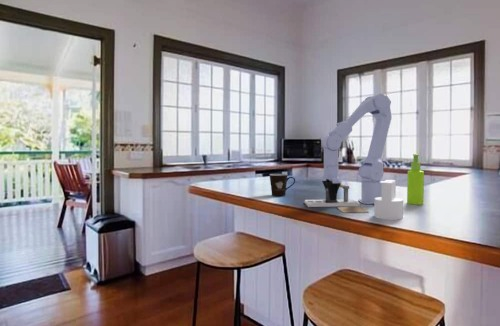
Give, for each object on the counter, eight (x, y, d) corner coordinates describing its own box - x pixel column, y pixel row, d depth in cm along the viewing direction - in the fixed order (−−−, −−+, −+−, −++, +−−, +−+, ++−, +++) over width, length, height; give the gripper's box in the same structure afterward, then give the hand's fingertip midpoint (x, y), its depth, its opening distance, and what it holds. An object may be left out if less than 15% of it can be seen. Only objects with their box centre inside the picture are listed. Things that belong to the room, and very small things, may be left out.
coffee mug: (267, 196, 159) (266, 175, 158) (272, 193, 167) (272, 173, 166) (291, 197, 154) (290, 175, 154) (295, 194, 162) (295, 174, 162)
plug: (335, 202, 139) (335, 188, 138) (338, 204, 134) (338, 189, 133) (323, 202, 139) (323, 188, 138) (326, 204, 134) (326, 190, 133)
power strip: (352, 202, 141) (352, 187, 140) (359, 206, 132) (359, 190, 131) (304, 202, 141) (304, 188, 140) (308, 206, 132) (308, 191, 131)
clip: (350, 188, 135) (350, 186, 135) (344, 189, 134) (344, 186, 134) (339, 184, 147) (339, 182, 147) (333, 185, 147) (333, 182, 147)
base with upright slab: (400, 221, 107) (401, 183, 106) (371, 217, 112) (371, 182, 111) (404, 215, 115) (405, 180, 114) (377, 212, 119) (377, 179, 119)
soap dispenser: (422, 202, 138) (423, 153, 137) (423, 205, 132) (424, 154, 130) (407, 201, 140) (407, 153, 139) (407, 204, 134) (407, 154, 133)
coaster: (360, 207, 129) (360, 206, 129) (368, 212, 120) (368, 211, 120) (336, 208, 129) (336, 207, 129) (343, 213, 120) (343, 211, 120)
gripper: (317, 164, 143) (317, 196, 143) (325, 167, 128) (325, 202, 129) (334, 164, 142) (334, 195, 143) (343, 166, 128) (343, 202, 129)
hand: (331, 198), depth 136 cm, fingers closed on plug, 5 cm apart
